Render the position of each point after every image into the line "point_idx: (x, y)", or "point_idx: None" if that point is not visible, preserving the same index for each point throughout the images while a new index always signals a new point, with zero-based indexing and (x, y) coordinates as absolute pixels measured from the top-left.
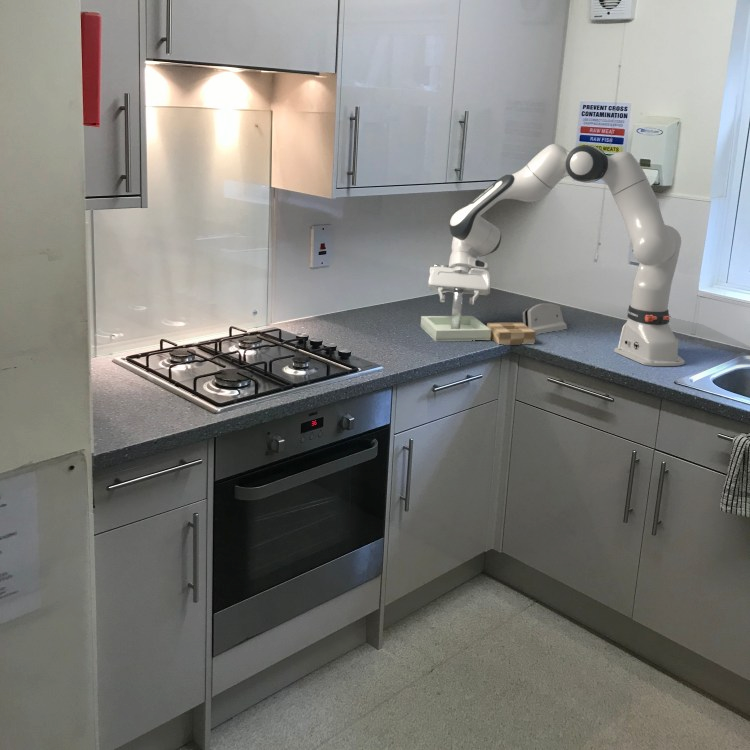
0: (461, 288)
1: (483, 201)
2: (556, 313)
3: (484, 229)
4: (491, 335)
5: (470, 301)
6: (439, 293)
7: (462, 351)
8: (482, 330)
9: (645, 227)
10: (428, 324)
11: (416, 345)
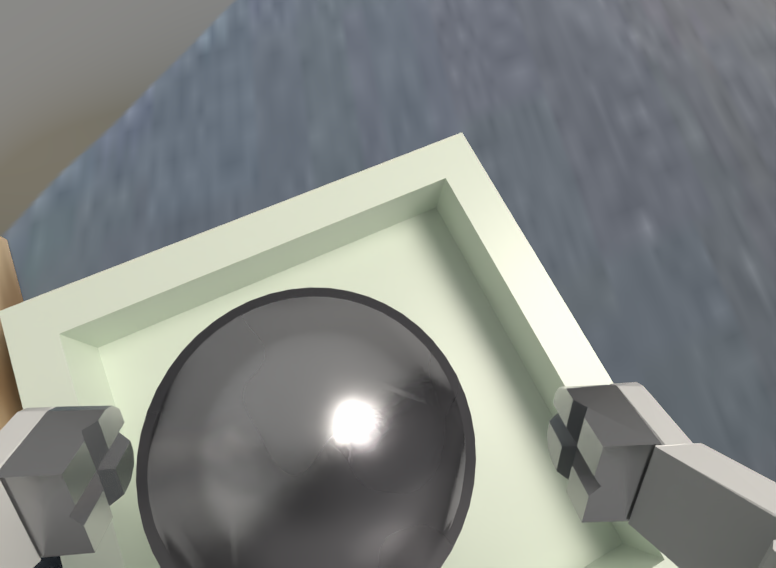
0: (216, 443)
1: None
2: None
3: None
4: None
5: (88, 408)
6: (744, 483)
7: (259, 41)
8: (86, 277)
9: None
10: (576, 333)
11: (533, 68)
